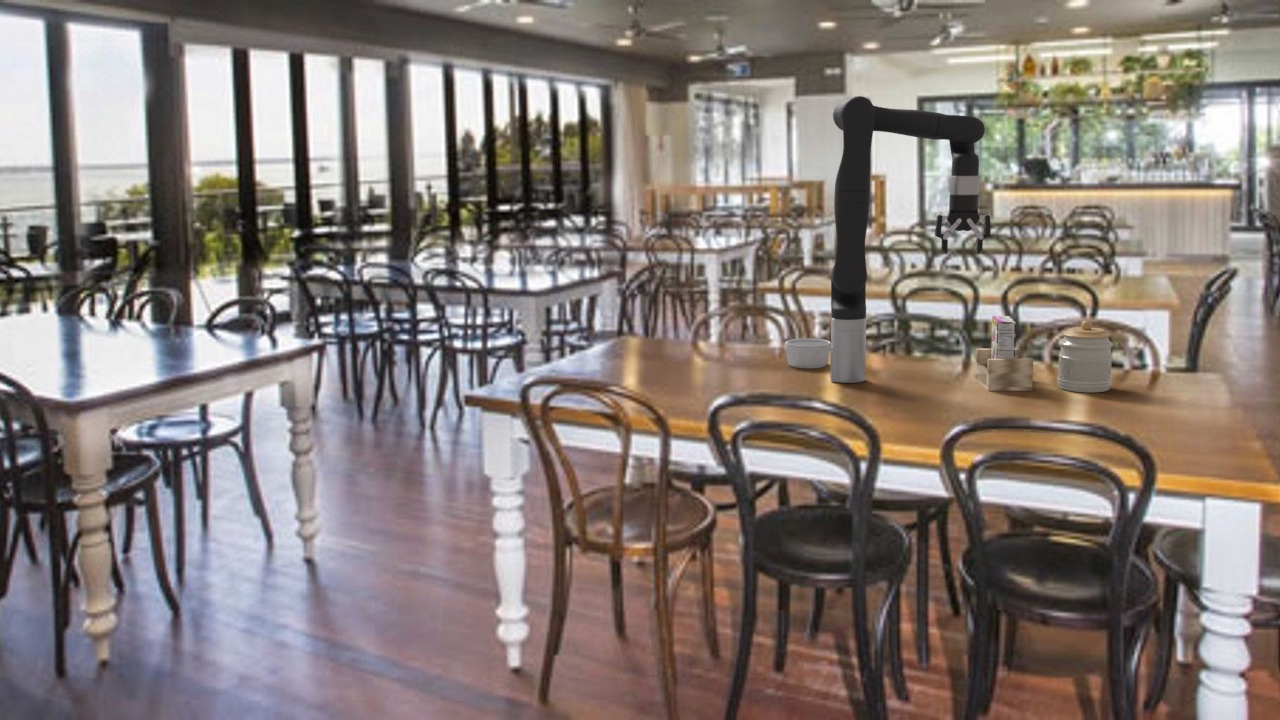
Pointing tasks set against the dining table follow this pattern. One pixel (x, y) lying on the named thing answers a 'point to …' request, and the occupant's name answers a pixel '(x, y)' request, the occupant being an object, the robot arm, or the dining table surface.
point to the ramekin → (807, 352)
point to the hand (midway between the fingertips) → (961, 253)
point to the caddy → (1003, 372)
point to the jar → (1085, 359)
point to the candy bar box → (1003, 337)
